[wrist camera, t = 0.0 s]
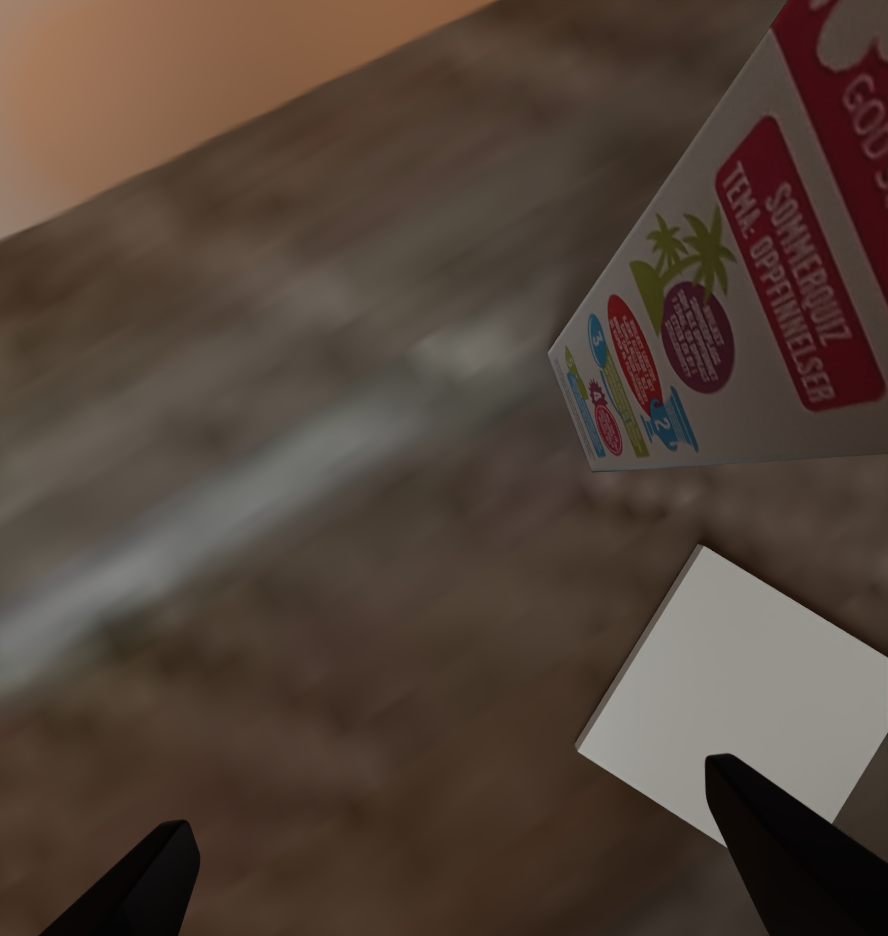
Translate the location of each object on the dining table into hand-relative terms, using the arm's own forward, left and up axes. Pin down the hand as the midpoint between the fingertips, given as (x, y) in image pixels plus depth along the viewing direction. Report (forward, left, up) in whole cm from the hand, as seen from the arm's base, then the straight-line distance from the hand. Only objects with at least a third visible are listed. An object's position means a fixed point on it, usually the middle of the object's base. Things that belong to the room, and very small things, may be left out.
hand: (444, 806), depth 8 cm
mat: (+3, -15, -15) cm, 22 cm away
